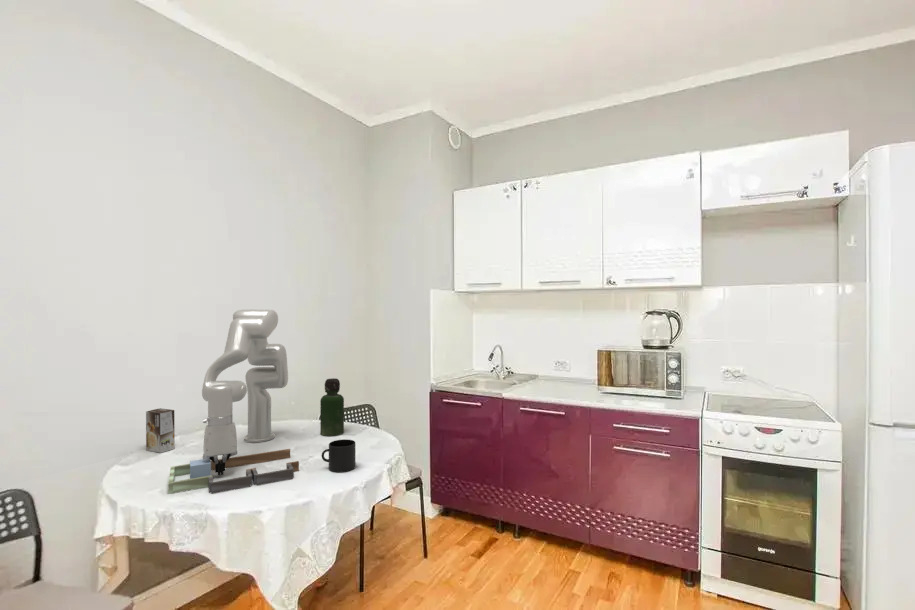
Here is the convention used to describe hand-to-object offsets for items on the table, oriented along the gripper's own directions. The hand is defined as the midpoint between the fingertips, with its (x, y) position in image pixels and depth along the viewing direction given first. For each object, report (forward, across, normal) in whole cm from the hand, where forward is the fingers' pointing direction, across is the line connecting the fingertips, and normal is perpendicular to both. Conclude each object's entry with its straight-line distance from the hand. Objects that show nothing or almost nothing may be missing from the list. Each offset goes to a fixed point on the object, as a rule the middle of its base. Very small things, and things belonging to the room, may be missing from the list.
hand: (220, 473), depth 156 cm
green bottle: (+1, +48, +33) cm, 58 cm away
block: (+1, -6, 0) cm, 6 cm away
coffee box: (+1, -19, +45) cm, 49 cm away
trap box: (+1, +5, -3) cm, 6 cm away
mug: (+1, +37, -13) cm, 40 cm away
